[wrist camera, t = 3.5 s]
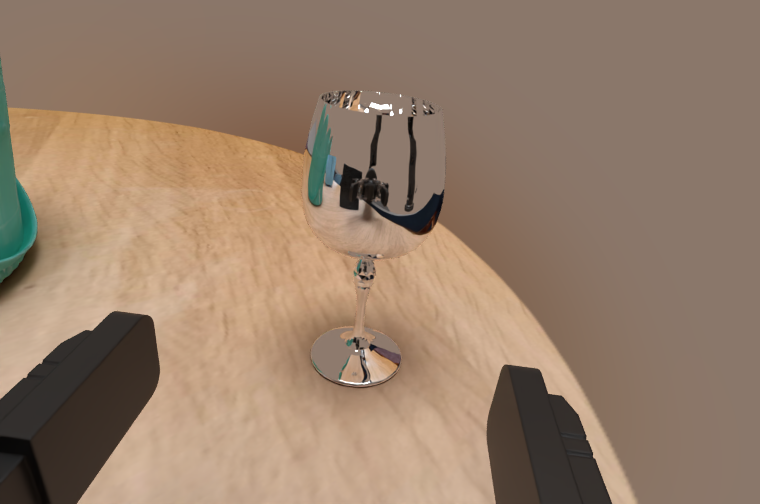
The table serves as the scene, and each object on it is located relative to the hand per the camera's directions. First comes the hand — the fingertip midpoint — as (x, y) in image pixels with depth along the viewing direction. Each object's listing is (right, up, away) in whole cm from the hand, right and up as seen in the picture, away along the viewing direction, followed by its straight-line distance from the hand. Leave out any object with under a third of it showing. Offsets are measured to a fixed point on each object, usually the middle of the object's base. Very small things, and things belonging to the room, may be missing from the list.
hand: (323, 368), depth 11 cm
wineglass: (0, -2, +13) cm, 13 cm away
